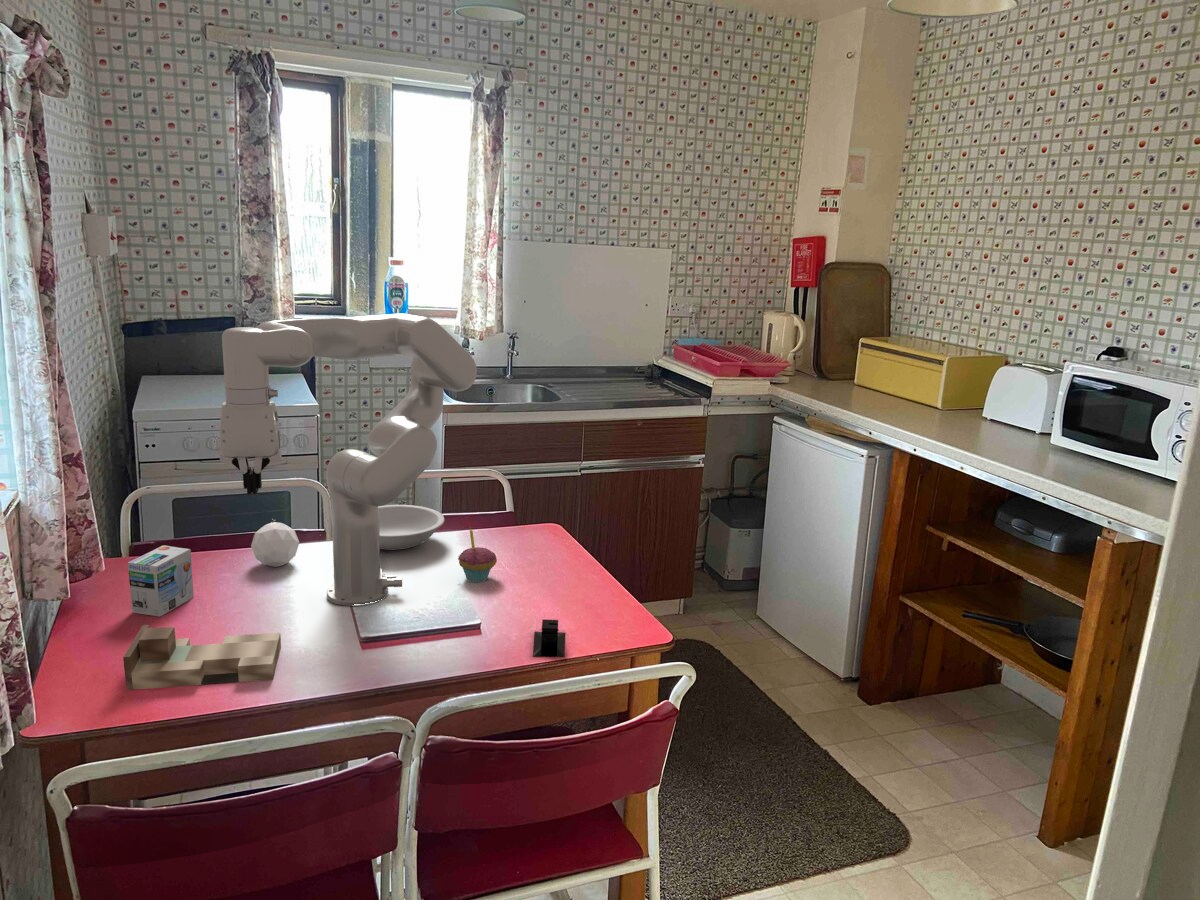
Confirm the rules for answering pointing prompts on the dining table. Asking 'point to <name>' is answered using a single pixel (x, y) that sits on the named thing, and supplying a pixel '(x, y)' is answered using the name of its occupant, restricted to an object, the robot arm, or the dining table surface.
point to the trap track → (205, 662)
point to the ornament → (275, 544)
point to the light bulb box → (160, 580)
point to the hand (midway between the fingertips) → (253, 491)
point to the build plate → (549, 640)
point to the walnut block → (157, 644)
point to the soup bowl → (407, 525)
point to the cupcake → (477, 562)
